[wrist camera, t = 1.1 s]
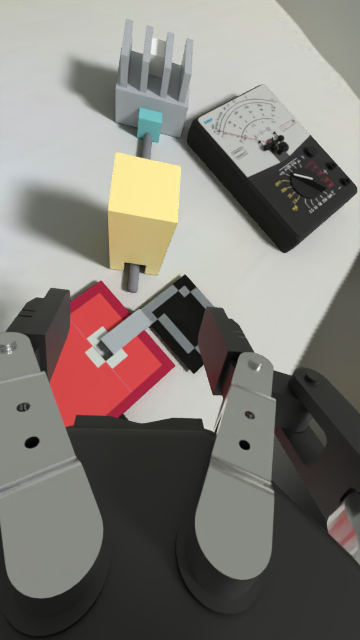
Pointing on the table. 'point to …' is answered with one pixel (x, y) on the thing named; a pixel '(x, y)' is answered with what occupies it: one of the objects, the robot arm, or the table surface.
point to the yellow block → (142, 211)
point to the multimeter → (271, 165)
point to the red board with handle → (124, 349)
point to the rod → (148, 132)
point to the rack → (153, 81)
